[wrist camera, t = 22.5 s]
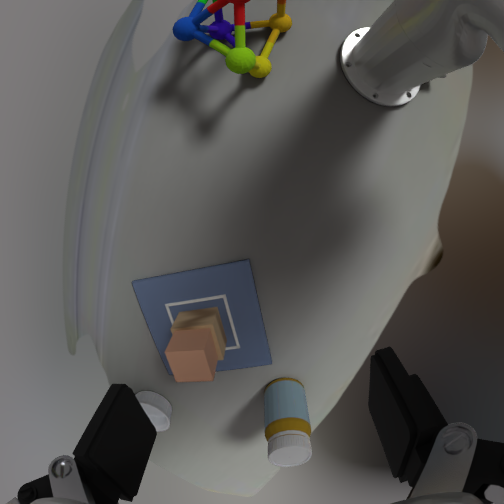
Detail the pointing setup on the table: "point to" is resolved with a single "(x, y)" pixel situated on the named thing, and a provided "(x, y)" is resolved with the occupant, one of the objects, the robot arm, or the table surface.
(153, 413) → the ramekin
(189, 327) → the oak block
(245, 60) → the educational toy
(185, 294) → the board
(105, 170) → the table surface
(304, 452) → the bottle
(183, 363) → the terracotta cube
